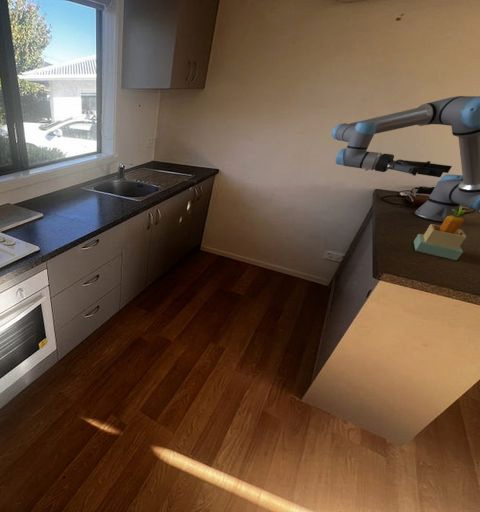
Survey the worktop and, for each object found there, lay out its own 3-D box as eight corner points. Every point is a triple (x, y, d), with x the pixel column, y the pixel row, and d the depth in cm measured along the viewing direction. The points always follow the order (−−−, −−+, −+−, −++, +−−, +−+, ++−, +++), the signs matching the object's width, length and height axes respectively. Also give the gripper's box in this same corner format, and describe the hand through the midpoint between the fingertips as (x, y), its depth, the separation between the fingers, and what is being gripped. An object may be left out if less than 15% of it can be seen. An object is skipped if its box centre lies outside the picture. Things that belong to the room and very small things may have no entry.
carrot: (444, 245, 118) (468, 210, 110) (428, 240, 121) (450, 206, 114) (450, 243, 119) (474, 209, 112) (434, 238, 123) (456, 205, 116)
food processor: (413, 240, 130) (425, 221, 126) (452, 249, 123) (466, 229, 119) (415, 250, 122) (428, 230, 117) (456, 260, 115) (472, 239, 110)
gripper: (383, 167, 137) (447, 177, 122) (364, 174, 125) (432, 185, 110) (391, 150, 134) (458, 158, 118) (372, 155, 121) (444, 165, 106)
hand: (446, 171), depth 114 cm, fingers open, 13 cm apart
